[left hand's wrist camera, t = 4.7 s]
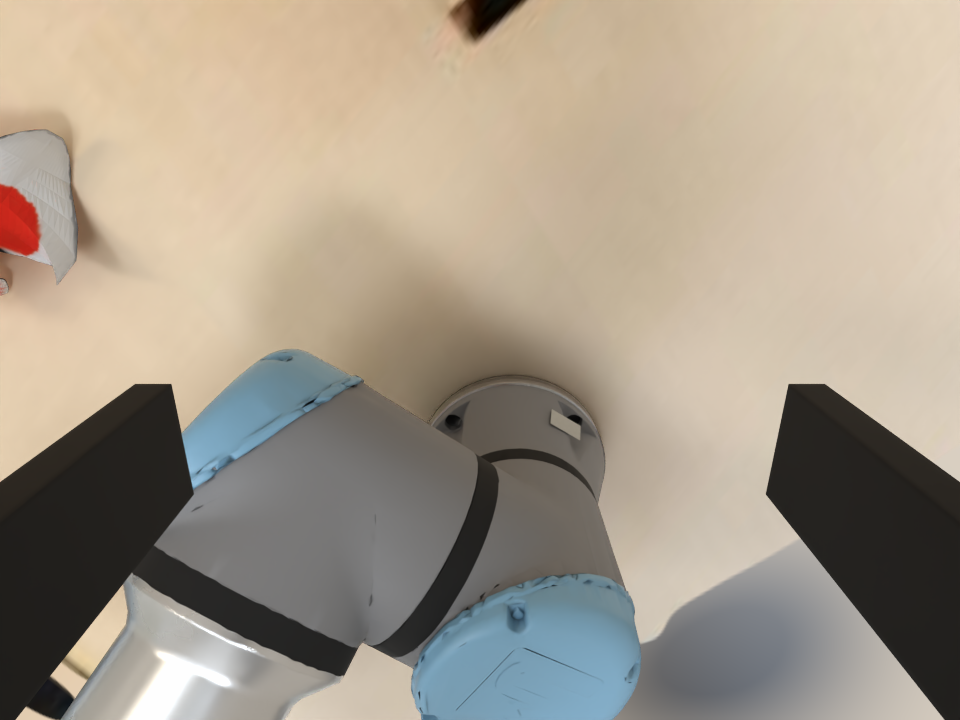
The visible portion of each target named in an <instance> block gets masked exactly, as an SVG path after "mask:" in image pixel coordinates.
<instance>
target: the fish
mask: <svg viewBox="0 0 960 720" xmlns="http://www.w3.org/2000/svg"><path fill="white" fill-rule="evenodd" d="M70 184H71V168H70V159H69V154H68V150H67V146H66V144H65V142H64V140H63V138H61V137H59V136H57V135H56V134H54V133H52V132H50V131H48V130H30V131H22V132H18V133H14V134H10V135H6V136H2V137H0V252H4V253H8V254H13V255H18V256H23V257H27V258H30V259H32V260H35V261H38V262H41V263H44V264H48V265H51V266H53V269H54V271H55V275H56V279H57V285H58V284H59V282H60V281H61V280H62V278H63V277H64V276H65V274H66V273H67V272H68V271H69V269H70V268H71V267H72V265H73V264H74V263H75V262H76V257H77V239H78V225H77V219H76V213H75V207H74V202H73V196H72V190H71V185H70ZM8 289H9V287H8V284H7V282H6V281H5V279H3V278H0V295H3V294H6V293H8Z"/></svg>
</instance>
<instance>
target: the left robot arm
mask: <svg viewBox="0 0 960 720" xmlns="http://www.w3.org/2000/svg"><path fill="white" fill-rule="evenodd" d="M363 382H364V380H362V379H361V378H360V377H358V376H350V375H349V374H347V373H345V372H343V371H341V370H339V369H337V368H336V367H334V366H332V365H330V364H328V363H326V362H324V361H323V360H321V359H319V358H317V357H315V356H313V355H312V354H310V353H308V352H305V351H302V350H297V349H286V350H280V351H277V352H274V353H271V354H269V355H267V356H266V357H264V358H262V359H261V360H259V361H258V362H256V363H255V364H254V365H252V366H251V367H250V368H248V369H247V370H246V371H245V372H244V373H242V374H241V375H240V376H239V377H238V378H237V379H235V380H234V381H233V382H232V383H231V384H230V385H229V386H228V387H227V388H226V389H225V390H224V391H222V392H221V393H220V394H219V395H218V396H217V397H216V398H215V399H214V400H213V401H212V402H211V403H210V404H209V405H208V406H207V407H206V408H205V409H204V410H203V411H202V412H201V413H200V414H199V415H198V416H197V417H196V418H195V419H194V421H193V422H192V423H191V424H190V425H189V426H188V427H187V428H186V429H185V430H184V431H183V432H182V433H181V429H180V424H179V419H178V414H177V409H176V405H175V400H174V395H173V390H172V385H171V384H135V385H133V386H132V387H131V388H129V389H128V390H126V391H125V392H124V393H122V394H121V395H120V396H118V397H117V398H115V399H114V400H113V401H111V402H110V403H108V404H107V405H106V406H104V407H103V408H102V409H100V410H99V411H97V412H96V413H95V414H93V415H92V416H91V417H89V418H88V419H86V420H85V421H84V422H82V423H81V424H80V425H78V426H77V427H75V428H74V429H73V430H71V431H70V432H69V433H67V434H66V435H64V436H63V437H62V438H60V439H59V440H58V441H56V442H55V443H53V444H52V445H51V446H49V447H48V448H46V449H45V450H44V451H42V452H41V453H40V454H38V455H37V456H35V457H34V458H33V459H31V460H30V461H29V462H27V463H26V464H24V465H23V466H22V467H20V468H19V469H18V470H16V471H15V472H13V473H12V474H11V475H9V476H8V477H7V478H5V479H4V480H2V481H1V482H0V720H16V718H17V717H18V716H19V715H20V713H21V712H22V711H23V709H24V708H25V707H26V706H27V704H28V703H29V702H30V701H31V699H32V698H33V697H34V696H35V694H36V693H37V692H38V691H39V689H40V688H41V687H42V686H43V684H44V683H45V682H46V680H47V679H48V678H49V677H50V675H51V674H52V673H53V672H54V670H55V669H56V668H57V667H58V665H59V664H60V663H61V662H62V660H63V659H64V658H65V657H66V655H67V654H68V653H69V651H70V650H71V649H72V648H73V646H74V645H75V644H76V643H77V641H78V640H79V639H80V638H81V636H82V635H83V634H84V633H85V631H86V630H87V629H88V628H89V626H90V625H91V624H92V622H93V621H94V620H95V619H96V617H97V616H98V615H99V614H100V612H101V611H102V610H103V609H104V607H105V606H106V605H107V604H108V602H109V601H110V600H111V599H112V597H113V596H114V595H115V593H116V592H117V591H118V590H119V588H120V587H121V586H122V585H123V587H124V593H125V598H126V604H127V609H128V614H127V620H126V625H125V626H124V628H123V629H122V631H121V632H120V634H119V635H118V637H117V638H116V639H115V641H114V642H113V644H112V645H111V647H110V648H109V650H108V651H107V653H106V654H105V656H104V657H103V659H102V660H101V661H100V663H99V664H98V666H97V667H96V669H95V670H94V672H93V673H92V675H91V676H90V678H89V679H88V680H87V682H86V683H85V685H84V686H83V688H82V689H81V691H80V692H79V694H78V695H77V697H76V698H75V700H74V701H73V702H72V704H71V705H70V707H69V708H68V710H67V711H66V713H65V714H64V716H63V717H62V719H61V720H286V718H287V716H288V714H289V712H290V710H291V708H292V707H293V705H294V704H296V703H297V702H298V701H299V700H300V699H302V698H304V697H307V696H309V695H312V694H314V693H316V692H319V691H321V690H323V689H326V688H328V687H331V686H333V685H335V684H338V683H340V681H341V680H342V678H343V677H344V675H345V673H346V671H347V669H348V667H349V665H350V663H351V661H352V659H353V657H354V655H355V653H356V651H357V649H358V648H359V646H360V645H361V643H362V642H363V643H365V644H367V645H368V646H371V647H373V648H375V649H377V650H379V651H381V652H383V653H385V654H386V655H388V656H390V657H392V658H394V659H396V660H398V661H400V662H402V663H404V664H406V665H408V666H409V667H411V668H413V669H414V670H413V675H412V679H411V680H412V682H411V690H412V694H413V697H414V699H415V704H416V708H417V709H418V711H419V712H420V713H421V719H422V720H613V719H614V718H615V717H616V716H617V715H618V713H619V712H620V711H621V710H622V709H623V707H624V706H625V705H626V703H627V702H628V700H629V699H630V697H631V695H632V693H633V691H634V689H635V687H636V684H637V681H638V677H639V673H640V668H641V650H640V643H639V639H638V635H637V631H636V626H635V622H634V613H635V609H634V605H633V601H632V599H631V597H630V596H629V594H628V591H626V589H625V586H624V583H623V580H622V577H621V574H620V571H619V568H618V565H617V562H616V559H615V556H614V553H613V550H612V547H611V544H610V541H609V538H608V535H607V531H606V528H605V525H604V522H603V519H602V516H601V513H600V510H599V507H598V500H599V496H600V491H601V487H602V483H603V479H604V473H605V453H604V448H603V444H602V441H601V438H600V435H599V433H598V430H597V428H596V426H595V423H594V421H593V419H592V418H591V416H590V414H589V413H588V411H587V410H586V409H585V407H584V406H583V405H582V404H581V403H580V402H579V401H578V400H577V399H576V398H575V397H574V396H572V395H571V394H570V393H568V392H567V391H565V390H564V389H562V388H560V387H558V386H557V385H554V384H552V383H550V382H547V381H544V380H541V379H538V378H533V377H527V376H517V375H508V376H498V377H492V378H487V379H484V380H481V381H478V382H475V383H473V384H470V385H468V386H466V387H464V388H462V389H461V390H459V391H458V392H456V393H455V394H453V395H452V396H451V397H449V398H448V399H447V400H446V401H445V402H444V403H443V404H442V405H441V406H440V407H439V408H438V410H437V411H436V412H435V413H434V415H433V416H432V418H431V420H430V421H429V423H426V422H425V421H423V420H421V419H420V418H418V417H416V416H415V415H413V414H412V413H410V412H408V411H407V410H405V409H403V408H402V407H400V406H399V405H397V404H395V403H394V402H392V401H390V400H389V399H387V398H386V397H384V396H382V395H381V394H379V393H378V392H376V391H375V390H373V389H372V388H370V387H369V386H367V385H365V384H364V383H363ZM766 495H767V496H768V498H769V499H770V500H771V501H772V503H773V504H774V505H775V506H776V508H777V509H778V510H779V511H780V513H781V514H782V515H783V517H784V518H785V519H786V520H787V522H788V523H789V524H790V525H791V527H792V528H793V529H794V530H795V532H796V533H797V534H798V535H799V537H800V538H801V539H802V540H803V542H804V543H805V544H806V545H807V547H808V548H809V549H810V551H811V552H812V553H813V554H814V556H815V557H816V558H817V559H818V561H819V562H820V563H821V564H822V566H823V567H824V568H825V569H826V571H827V572H828V573H829V574H830V576H831V577H832V578H833V580H834V581H835V582H836V583H837V585H838V586H839V587H840V588H841V590H842V591H843V592H844V593H845V595H846V596H847V597H848V599H849V600H850V601H851V602H852V604H853V605H854V606H855V607H856V609H857V610H858V611H859V612H860V614H861V615H862V616H863V617H864V619H865V620H866V621H867V622H868V624H869V625H870V626H871V627H872V629H873V630H874V631H875V633H876V634H877V635H878V636H879V638H880V639H881V640H882V641H883V643H884V644H885V645H886V646H887V648H888V649H889V650H890V651H891V653H892V654H893V655H894V657H895V658H896V659H897V660H898V662H899V663H900V664H901V665H902V667H903V668H904V669H905V670H906V672H907V673H908V674H909V675H910V677H911V678H912V679H913V680H914V682H915V683H916V684H917V686H918V687H919V688H920V689H921V691H922V692H923V693H924V694H925V696H926V697H927V698H928V699H929V701H930V702H931V703H932V704H933V706H934V707H935V708H936V709H937V711H938V712H939V713H940V715H941V716H942V717H943V718H944V720H960V482H959V481H958V480H956V479H955V478H953V477H952V476H951V475H949V474H948V473H947V472H945V471H944V470H942V469H941V468H940V467H938V466H937V465H936V464H934V463H933V462H931V461H930V460H929V459H927V458H926V457H925V456H923V455H922V454H920V453H919V452H918V451H916V450H915V449H914V448H912V447H911V446H909V445H908V444H907V443H905V442H904V441H902V440H901V439H900V438H898V437H897V436H896V435H894V434H893V433H891V432H890V431H889V430H887V429H886V428H885V427H883V426H882V425H880V424H879V423H878V422H876V421H875V420H874V419H872V418H871V417H869V416H868V415H867V414H865V413H864V412H863V411H861V410H860V409H858V408H857V407H856V406H854V405H853V404H852V403H850V402H849V401H847V400H846V399H845V398H843V397H842V396H840V395H839V394H838V393H836V392H835V391H834V390H832V389H831V388H829V387H828V386H827V385H825V384H789V385H788V390H787V395H786V400H785V404H784V409H783V414H782V419H781V424H780V429H779V433H778V438H777V443H776V448H775V453H774V458H773V462H772V467H771V472H770V477H769V482H768V487H767V491H766Z"/></svg>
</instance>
